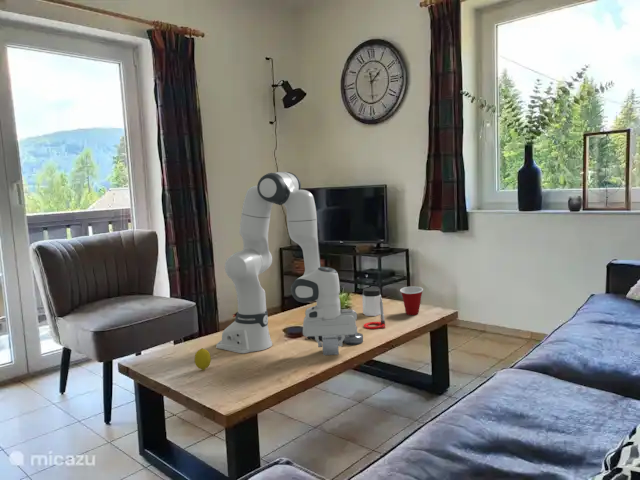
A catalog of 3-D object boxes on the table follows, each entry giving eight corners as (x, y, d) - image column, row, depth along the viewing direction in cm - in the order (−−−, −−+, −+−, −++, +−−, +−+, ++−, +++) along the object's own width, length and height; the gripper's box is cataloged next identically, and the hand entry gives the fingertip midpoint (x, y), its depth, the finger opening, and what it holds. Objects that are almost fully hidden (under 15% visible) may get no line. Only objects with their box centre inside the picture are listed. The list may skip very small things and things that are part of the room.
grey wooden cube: (323, 355, 187) (322, 339, 186) (322, 349, 193) (321, 334, 192) (338, 354, 187) (338, 338, 186) (337, 349, 193) (337, 334, 192)
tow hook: (364, 330, 216) (385, 329, 216) (361, 301, 215) (383, 299, 214) (363, 325, 225) (384, 323, 224) (361, 296, 223) (382, 295, 223)
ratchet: (305, 340, 205) (305, 326, 204) (313, 334, 212) (313, 320, 212) (359, 345, 196) (358, 330, 195) (365, 339, 203) (365, 324, 202)
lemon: (192, 370, 177) (190, 348, 176) (206, 366, 181) (204, 344, 180) (200, 374, 173) (199, 352, 172) (214, 369, 177) (213, 347, 176)
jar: (383, 315, 237) (382, 290, 236) (367, 317, 235) (366, 292, 234) (377, 310, 246) (376, 286, 244) (361, 312, 244) (360, 288, 242)
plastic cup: (396, 315, 237) (395, 289, 235) (406, 309, 245) (406, 285, 244) (417, 318, 230) (416, 292, 229) (427, 312, 239) (427, 287, 237)
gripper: (355, 307, 191) (356, 342, 193) (301, 309, 191) (303, 344, 193) (357, 311, 185) (358, 347, 187) (301, 314, 185) (303, 350, 186)
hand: (330, 346), depth 190 cm, fingers open, 6 cm apart
